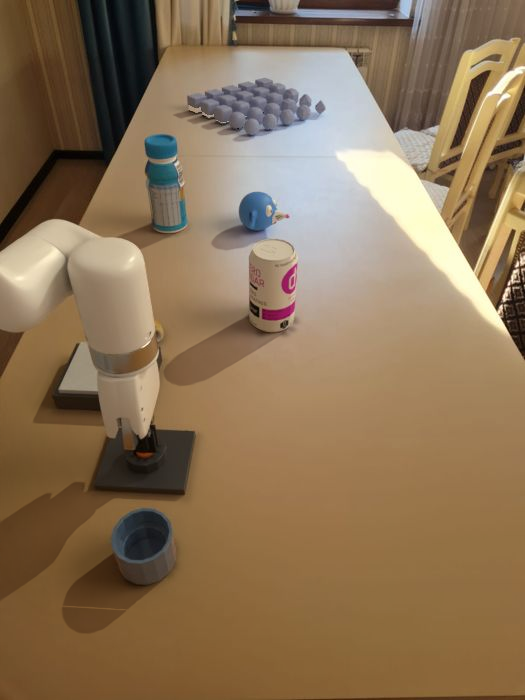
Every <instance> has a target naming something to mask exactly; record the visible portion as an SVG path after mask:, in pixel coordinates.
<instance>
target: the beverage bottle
mask: <svg viewBox="0 0 525 700" xmlns="http://www.w3.org/2000/svg"><path fill="white" fill-rule="evenodd" d="M143 145H144V150H145V155H146V158H148V160H147V161H146V163H145V166H144V175H145V176H146V179H145V188H146V190H147V197H148V203H149V210H150V219H151V225H152V228H153V230H155V231H156V232H158V233H161V234H175V233H178V232H179V233H180V232H181V231H183V230H185V228H187V226H188V216H187V208H186V194H185V186H186V183H185V177H184V176H183V173H184V169H183V166H182V163H181V162H180V159H178V158H177V156H178V152H179V151H178V150H179V149H178V141H177V138H176V136H174V135H172V134H168V133H167V134H166V133H156V134H152V135H149V136H147V137H146V138H145V139H144V143H143Z"/></svg>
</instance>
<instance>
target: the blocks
mask: <svg viewBox="0 0 525 700" xmlns="http://www.w3.org/2000/svg"><path fill="white" fill-rule="evenodd" d="M299 93H300V92H299V91H298V90H297V89H295V88H292V87H291V88H287V89H286V85H285V84H283V83H279V82H275V83H274V80H272V79H270V78H267V77H263V78H258V79H255V80H254V82H252V81H245V82H244V81H243V82H239V83H237V86H236V85H233V84H231V85H226V86H223V87H221V90H220V89H217V88H213V89H209V90H205V91H204V94H202V93H200V92H196V93H192V94H187V95H186V100H187V101H186V102H187V106H188V105H190V106H192V107H194V108H199V107H201V111H202V112H204V113H205V114H207V115H213V114H214V117H210V118H208V117H205V119H208V120H211V119H214V118H215V119H216V120H218V121H220V122H226V123H220V122H217V121H215V122H216V123H218V124H220V125H227V124H229V126H230V128H232V127H233V128H232V129H234V130H236V131H237V130H238V131H239V130H241V129H243V130H244V132H245V133H246V134H247V135H248V136H255V135H257V134H258V133H259V131H260V128H261V126H260V123H259V122H261V124H262V126H263V128H264V129H265V130H267V131H273V130H274V129H276V128H277V126H278V118H279V120H280V123H281V124H283V125H285V126H289V125H291V124H292V123H294V120H295V114H296V117H297V118H298V119H299V120H302V121H305V120H308V119H309V118H310V116H311V108H310V107H311V106H312V101H313V100H312V98H311V97H310V95H309V94H307V93H304V94H302V96H301V97H299ZM297 104H298V106H297ZM326 108H327V107H326V105H325V103H324V102H323V100H322V99H321V100H319V101H318V103H316V104H315V106H314V110H315V111H316V113H317V114H318V115H319V116H320V115H322V114H323V113H324V112H325V111H326V110H327V109H326ZM263 112H264V113H263ZM245 116H247V117H245ZM215 119H214V120H215ZM227 121H229V122H227ZM242 127H243V128H242ZM235 128H239V129H235ZM269 129H270V130H269ZM249 134H250V135H249Z"/></svg>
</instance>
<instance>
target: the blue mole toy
mask: <svg viewBox="0 0 525 700" xmlns="http://www.w3.org/2000/svg"><path fill="white" fill-rule="evenodd" d="M277 205H278V204H277V202H276V200H275V199H273V198H272V197H271V195H269V194H268V193H265V192H264V191H263V192H262V191H252V192H249V193H247V194H245V196H243V198H242V199H241V201H240V203H239V206H238V217H239V220H240V222H241V223H242V225H243V226H244V227H245V228H247V229H248V230H251V231H257V232H258V231H259V232H260V231H263V230H266V229H268V228H269V227H271V226H273V225H275V224H277V221H278V222H280V221H282V220H284V219H290V217H291V215H290V214H289V213H285V212H282V211H280V210H278V208H277Z"/></svg>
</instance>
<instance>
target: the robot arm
mask: <svg viewBox="0 0 525 700" xmlns="http://www.w3.org/2000/svg"><path fill="white" fill-rule="evenodd" d="M147 274H148V273H147V268H146V263H145V258H144V255H143V252H142V251H141V250H140V248H139V247H138V246H137V245H136V244H135V243H133V242H132V241H130V240H127V239H125V238H121V237H114V236H113V237H112V236H107V237H105V236H104V237H103V236H101V235H99V234H96V233H94V232H93V231H90V230H88V229H86V228H84V227H82V226H80V225H78V224H76V223H73V222H71V221H68V220H65V219H60V218H52V219H48V220H47V219H46V220H45V221H43V222H40V223H39V224H38V225H36V226H35V227H33V228H31V230H29V231H28V232H26V233H25V234H24V235H22V236H21V237H19V238H17V239H16V240H15V241H13V242H12V243H11V244H9V245H7V246H6V247H5V248H4V249H2V250H1V251H0V330H1V331H4V332H9V333H23V332H27V331H29V330H33V328H35V327H37V326H38V325H40V323H42V322H43V321H44V320H45V319H46V318H47V317H49V316H50V315H51V314H52V313H53V312H54V311H55V310H56V309H57V308H58V307H59V306H60V305H61V304H62V303H63V302H65V301H66V299H67V298H68V297H70V296H74V301H75V304H76V307H77V311H78V315H79V318H80V322H81V327H82V329H83V333H84V337H85V342H87V344H88V348H89V352H90V355H91V359H92V363H93V365H94V367H95V368H96V369H97V371H98V373H97V384H98V395H99V402H100V407H101V411H100V412H101V418H102V422H103V426H104V430H105V433H106V436H107V437H108V439H109V438H115V437H116V435H117V432H118V429H119V428H122V436H123V444H124V449H125V450H133V451H134V452H139V453H156V451H157V446H158V437H157V432H156V429H157V427H156V424H154V423H155V409H156V404H157V400H158V395H159V393H160V386H161V379H160V378H161V377H160V370H159V371H158V365H157V358H158V355H159V348H158V347H159V342H157V336H156V330H155V324H154V319H155V318H154V317H155V316H154V313H153V307H152V300H151V294H150V288H149V287H150V286H149V280H148V275H147Z"/></svg>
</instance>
